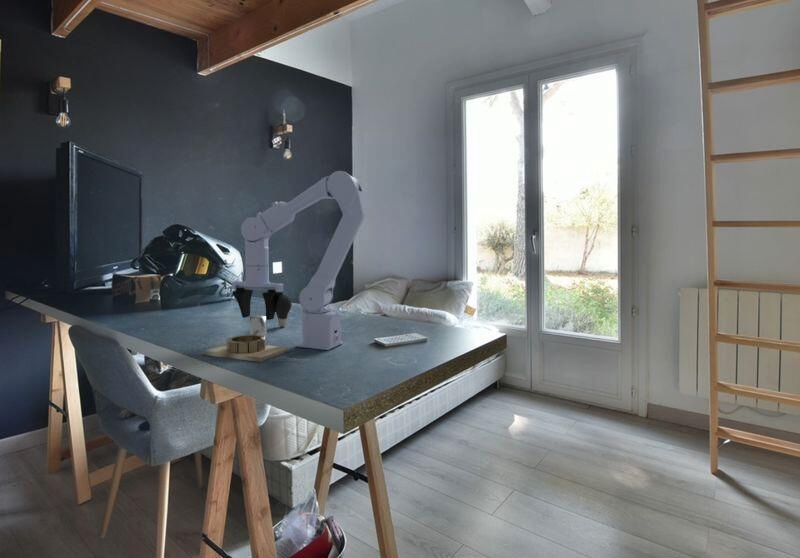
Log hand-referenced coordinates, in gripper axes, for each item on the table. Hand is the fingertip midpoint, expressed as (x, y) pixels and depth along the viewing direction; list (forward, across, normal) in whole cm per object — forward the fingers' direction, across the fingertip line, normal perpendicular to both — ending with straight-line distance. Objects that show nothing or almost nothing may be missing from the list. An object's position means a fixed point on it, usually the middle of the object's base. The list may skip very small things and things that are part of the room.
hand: (258, 318), depth 119 cm
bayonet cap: (+7, 0, 0) cm, 7 cm away
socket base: (+7, -4, +10) cm, 12 cm away
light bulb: (+7, +7, -20) cm, 22 cm away
